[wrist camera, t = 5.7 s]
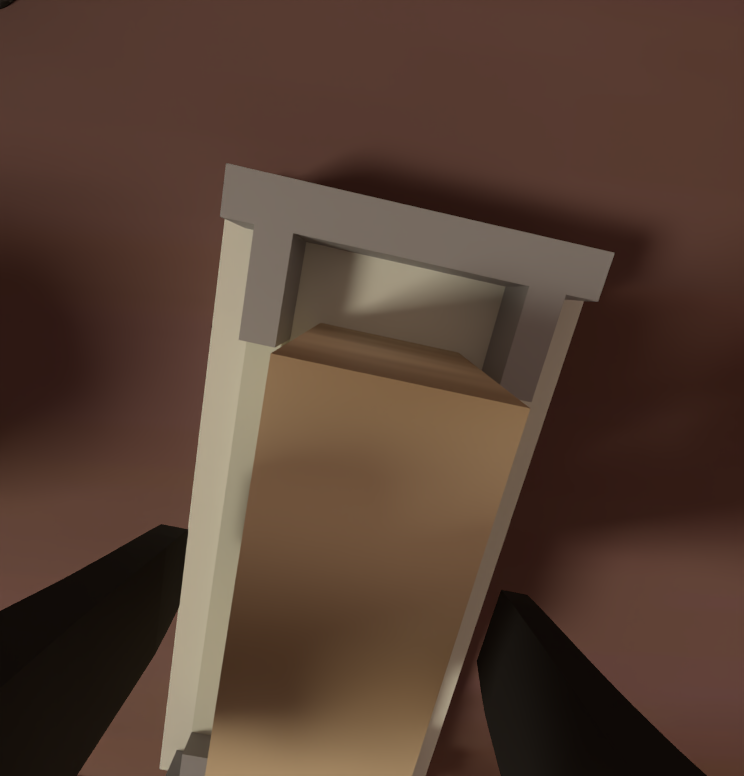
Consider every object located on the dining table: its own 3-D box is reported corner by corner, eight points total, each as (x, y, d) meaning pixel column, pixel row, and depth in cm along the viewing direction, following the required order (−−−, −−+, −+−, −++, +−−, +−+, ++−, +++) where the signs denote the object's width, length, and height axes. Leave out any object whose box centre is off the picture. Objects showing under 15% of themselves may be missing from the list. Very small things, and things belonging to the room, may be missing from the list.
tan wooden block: (369, 685, 13) (365, 921, 8) (258, 664, 13) (186, 893, 8) (458, 352, 10) (530, 408, 6) (320, 322, 10) (270, 353, 5)
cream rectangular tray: (411, 778, 15) (418, 876, 13) (173, 737, 15) (131, 829, 12) (576, 265, 11) (638, 257, 8) (243, 189, 10) (200, 156, 8)
